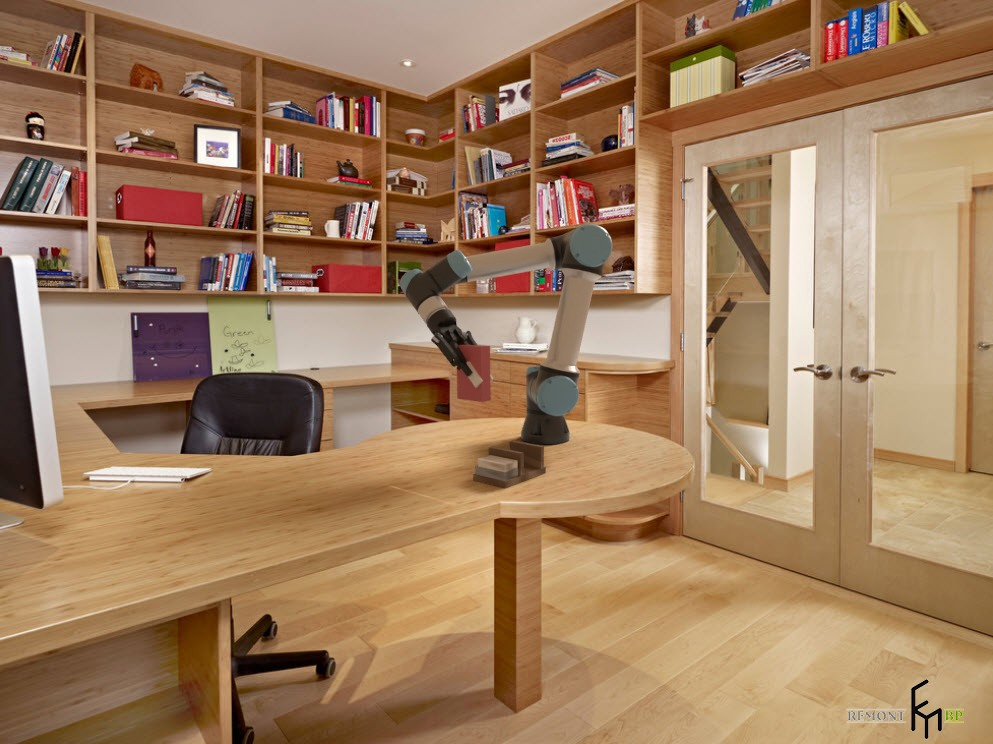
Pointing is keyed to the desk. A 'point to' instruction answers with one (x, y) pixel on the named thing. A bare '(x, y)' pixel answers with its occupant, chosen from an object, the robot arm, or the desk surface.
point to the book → (481, 364)
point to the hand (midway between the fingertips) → (484, 383)
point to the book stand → (510, 464)
